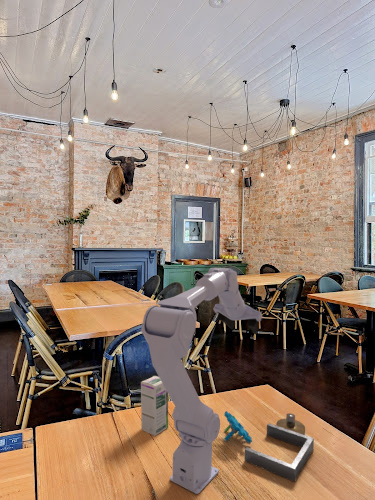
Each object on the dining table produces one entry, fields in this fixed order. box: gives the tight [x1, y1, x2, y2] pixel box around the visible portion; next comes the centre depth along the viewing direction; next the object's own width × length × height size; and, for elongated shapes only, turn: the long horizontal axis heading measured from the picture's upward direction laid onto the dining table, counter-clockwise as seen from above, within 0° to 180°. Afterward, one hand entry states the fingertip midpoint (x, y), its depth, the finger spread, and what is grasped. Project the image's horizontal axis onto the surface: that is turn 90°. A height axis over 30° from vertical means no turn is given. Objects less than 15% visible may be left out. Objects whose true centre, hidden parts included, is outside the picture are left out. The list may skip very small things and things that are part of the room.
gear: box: [224, 410, 253, 444], centre depth 96 cm, size 11×6×10 cm
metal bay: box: [244, 422, 315, 483], centre depth 89 cm, size 15×13×3 cm
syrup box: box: [140, 375, 169, 437], centre depth 101 cm, size 6×6×14 cm
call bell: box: [275, 412, 306, 435], centre depth 100 cm, size 8×8×5 cm
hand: (244, 328), depth 104 cm, fingers open, 7 cm apart
